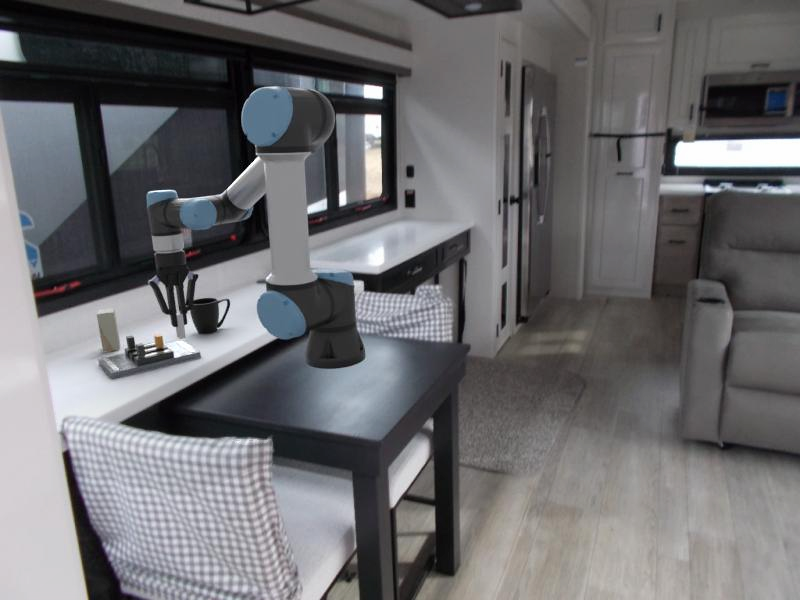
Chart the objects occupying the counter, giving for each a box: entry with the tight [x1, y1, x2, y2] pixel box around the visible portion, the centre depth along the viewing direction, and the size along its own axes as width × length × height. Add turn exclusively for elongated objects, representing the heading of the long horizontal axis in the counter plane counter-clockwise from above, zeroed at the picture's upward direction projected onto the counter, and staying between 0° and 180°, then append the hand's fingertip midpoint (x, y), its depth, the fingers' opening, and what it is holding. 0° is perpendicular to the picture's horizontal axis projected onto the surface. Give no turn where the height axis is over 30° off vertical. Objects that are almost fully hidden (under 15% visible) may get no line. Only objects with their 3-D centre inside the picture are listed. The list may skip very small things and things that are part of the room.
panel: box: [97, 335, 202, 380], centre depth 162 cm, size 14×22×6 cm, turn 128°
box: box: [96, 308, 121, 353], centre depth 173 cm, size 5×4×11 cm
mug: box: [189, 297, 231, 335], centre depth 186 cm, size 8×12×10 cm
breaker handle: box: [153, 333, 165, 348], centre depth 163 cm, size 2×2×3 cm
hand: (181, 337), depth 167 cm, fingers closed
